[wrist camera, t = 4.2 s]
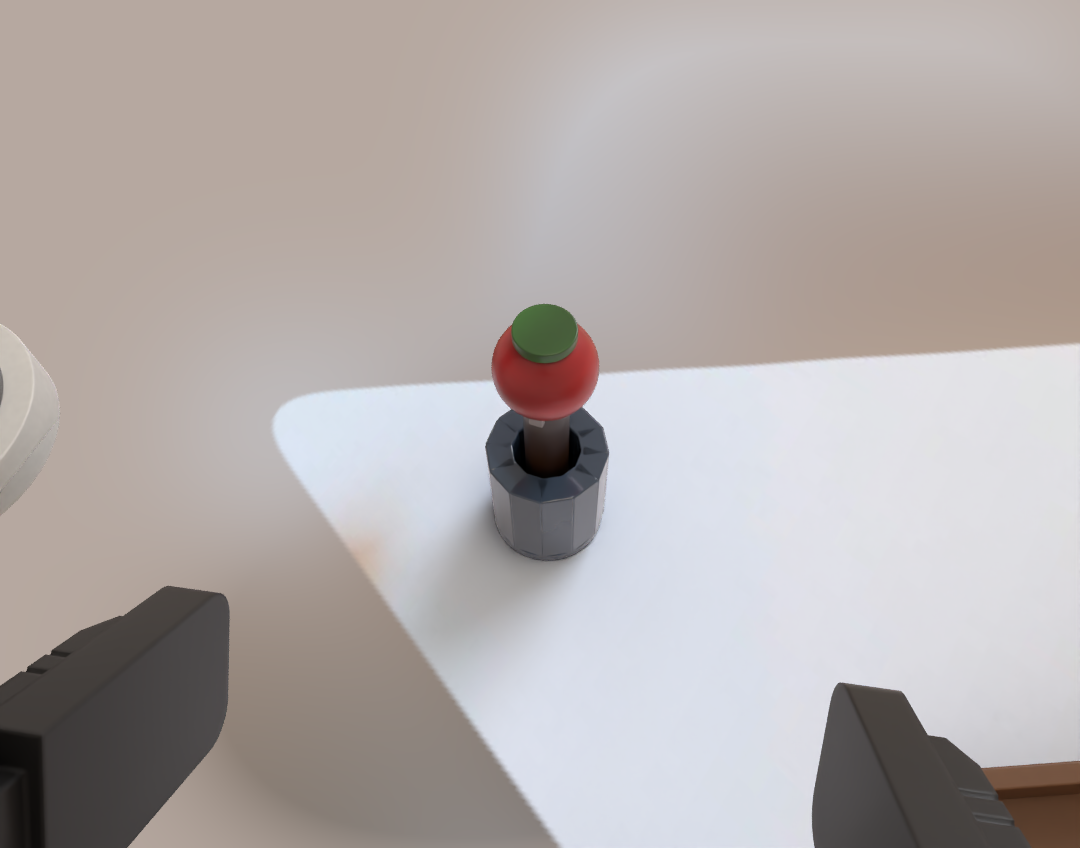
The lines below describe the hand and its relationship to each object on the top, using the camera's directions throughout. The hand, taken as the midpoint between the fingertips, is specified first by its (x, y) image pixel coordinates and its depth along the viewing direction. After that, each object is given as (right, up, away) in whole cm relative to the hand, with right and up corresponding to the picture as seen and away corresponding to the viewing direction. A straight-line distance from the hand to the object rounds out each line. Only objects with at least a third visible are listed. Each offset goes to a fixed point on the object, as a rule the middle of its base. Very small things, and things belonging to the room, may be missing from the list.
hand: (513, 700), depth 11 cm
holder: (+1, 0, +24) cm, 24 cm away
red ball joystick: (+1, 0, +24) cm, 24 cm away
